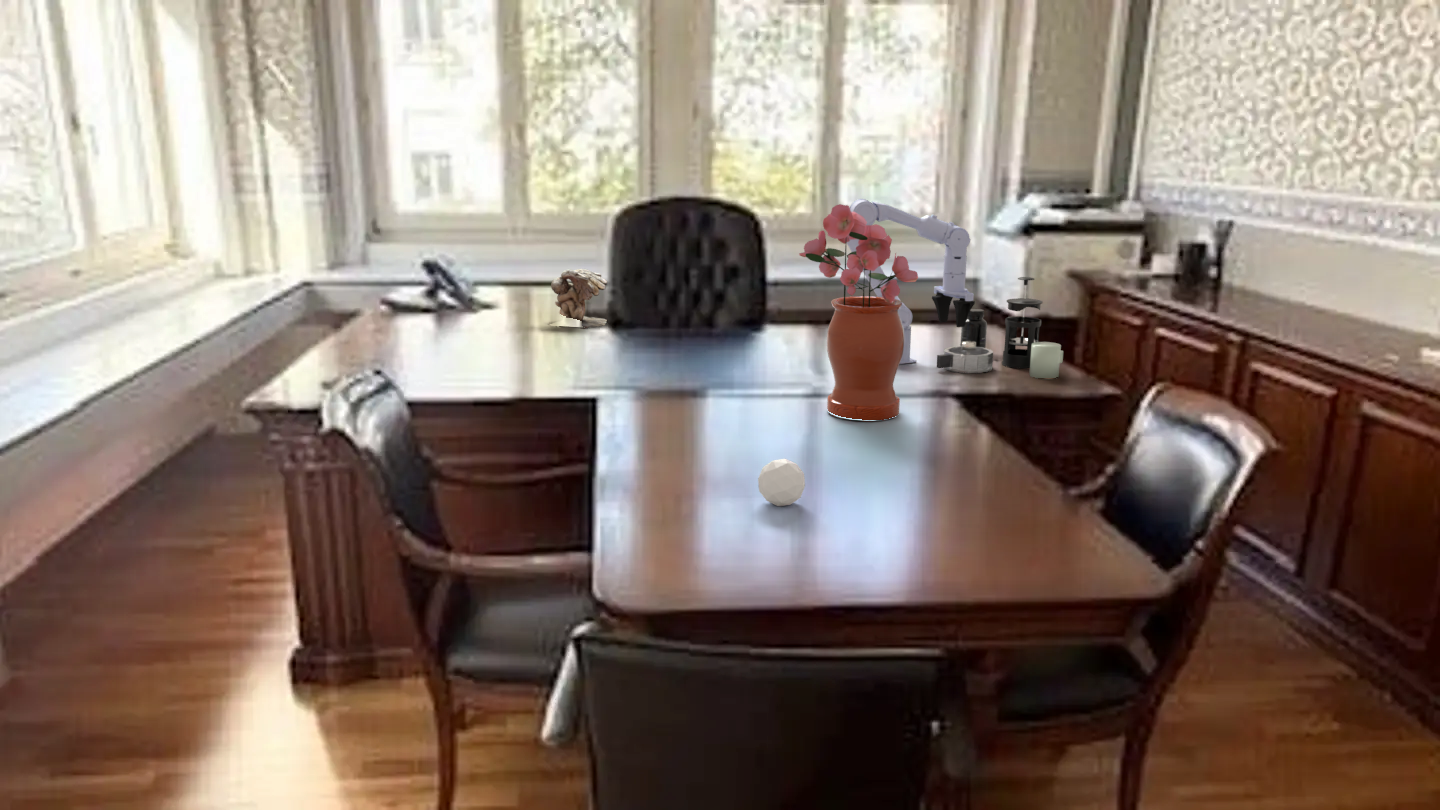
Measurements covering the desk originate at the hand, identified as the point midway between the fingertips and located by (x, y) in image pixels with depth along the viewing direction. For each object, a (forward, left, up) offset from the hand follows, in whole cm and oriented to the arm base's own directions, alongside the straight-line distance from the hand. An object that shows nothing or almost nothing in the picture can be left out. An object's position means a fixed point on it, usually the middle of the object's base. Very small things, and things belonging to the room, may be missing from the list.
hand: (951, 324), depth 277 cm
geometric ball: (-91, -78, -10) cm, 120 cm away
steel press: (-3, -9, -10) cm, 14 cm away
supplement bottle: (+12, +6, -10) cm, 17 cm away
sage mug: (+11, -24, -10) cm, 28 cm away
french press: (+14, -11, -10) cm, 20 cm away
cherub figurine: (-72, +97, -10) cm, 122 cm away
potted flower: (-49, -33, -10) cm, 60 cm away
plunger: (-1, -9, -10) cm, 13 cm away
